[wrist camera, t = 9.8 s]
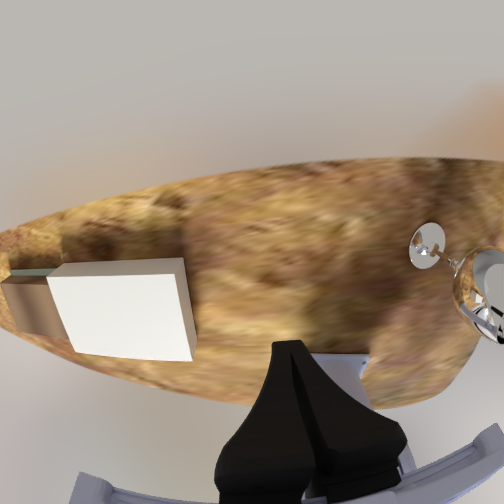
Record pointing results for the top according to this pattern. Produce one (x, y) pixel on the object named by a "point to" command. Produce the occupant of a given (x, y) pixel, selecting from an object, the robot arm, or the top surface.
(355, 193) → the top surface
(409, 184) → the top surface
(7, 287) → the tan cardboard slab
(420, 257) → the wineglass
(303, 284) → the top surface
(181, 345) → the tray
